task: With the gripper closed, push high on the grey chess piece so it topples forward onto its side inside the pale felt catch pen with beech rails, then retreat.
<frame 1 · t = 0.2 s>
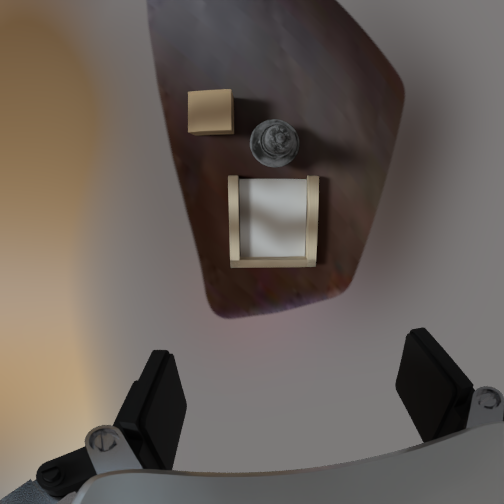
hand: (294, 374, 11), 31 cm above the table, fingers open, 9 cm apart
grey chess piece: (272, 144, 38), on the table
catch pen: (273, 220, 40), on the table
oak block: (214, 116, 37), on the table
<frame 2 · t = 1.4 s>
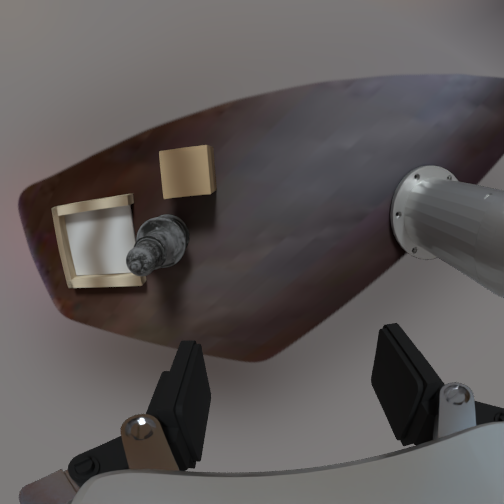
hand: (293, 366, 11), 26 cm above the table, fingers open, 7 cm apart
grey chess piece: (168, 235, 37), on the table
catch pen: (99, 242, 37), on the table
oak block: (193, 170, 34), on the table
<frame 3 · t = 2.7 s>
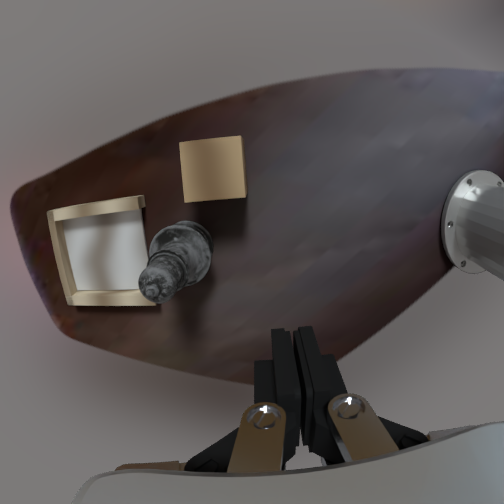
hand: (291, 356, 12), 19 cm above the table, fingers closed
grey chess piece: (188, 245, 31), on the table
catch pen: (103, 252, 31), on the table
oak block: (219, 168, 28), on the table
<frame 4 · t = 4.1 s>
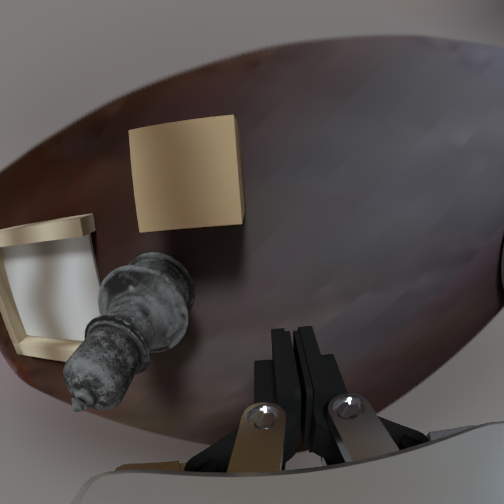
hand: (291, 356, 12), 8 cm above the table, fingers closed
grey chess piece: (158, 287, 20), on the table
catch pen: (49, 291, 20), on the table
oak block: (201, 171, 18), on the table
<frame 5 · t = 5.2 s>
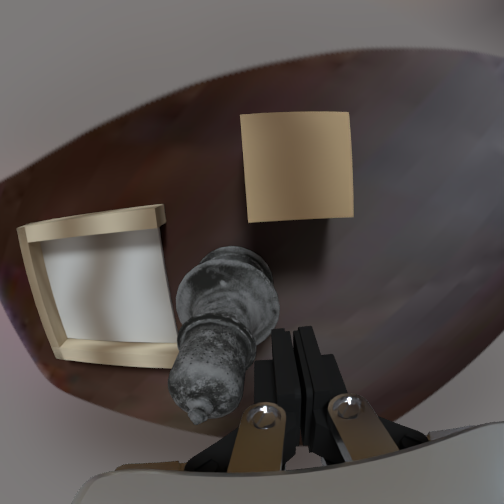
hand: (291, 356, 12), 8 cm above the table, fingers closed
grey chess piece: (233, 283, 20), on the table, touching gripper
catch pen: (101, 289, 21), on the table
oak block: (288, 164, 18), on the table
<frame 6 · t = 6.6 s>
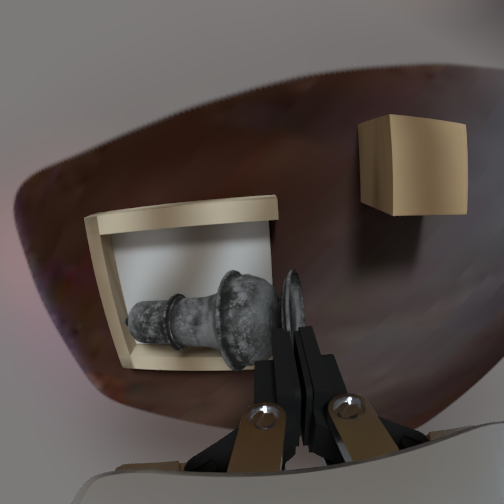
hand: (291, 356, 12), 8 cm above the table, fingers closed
grey chess piece: (301, 317, 16), point 4 cm above the table, touching catch pen
catch pen: (189, 287, 20), on the table
oak block: (393, 163, 18), on the table
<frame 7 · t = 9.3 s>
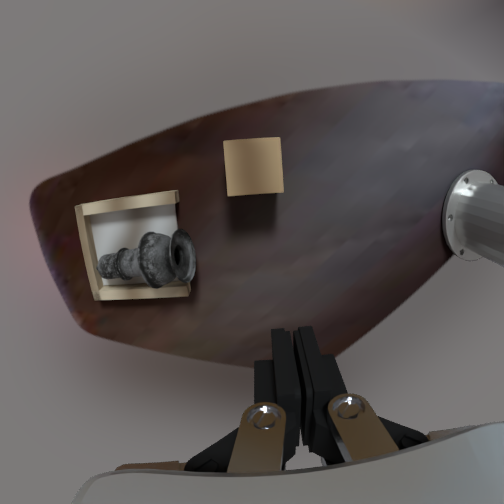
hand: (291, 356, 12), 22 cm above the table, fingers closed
grey chess piece: (186, 255, 29), point 4 cm above the table, touching catch pen
catch pen: (133, 246, 33), on the table
oak block: (251, 166, 31), on the table
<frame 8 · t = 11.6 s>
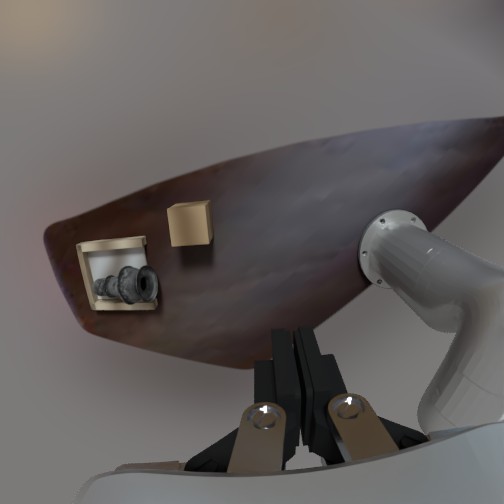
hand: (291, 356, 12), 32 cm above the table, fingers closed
grey chess piece: (148, 283, 41), point 4 cm above the table, touching catch pen
catch pen: (117, 273, 45), on the table
oak block: (195, 219, 43), on the table
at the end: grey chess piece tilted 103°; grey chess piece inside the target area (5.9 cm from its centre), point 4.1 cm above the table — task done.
